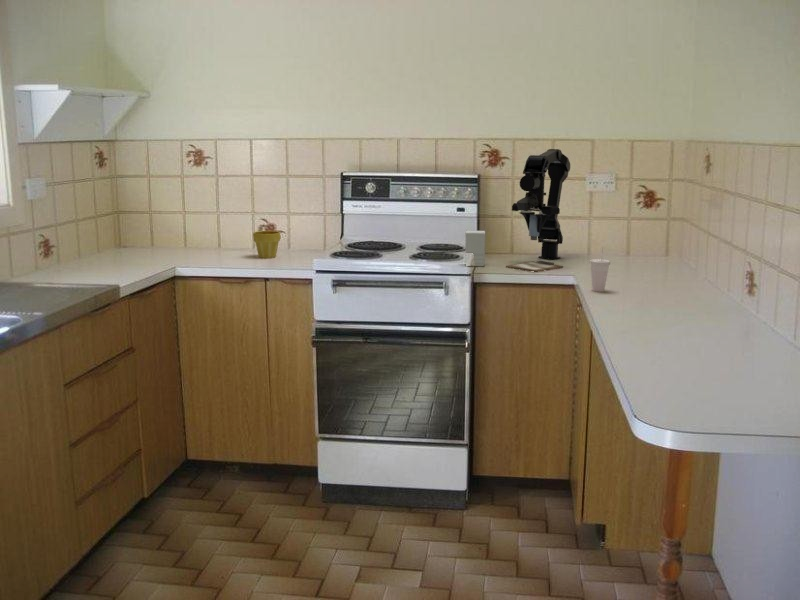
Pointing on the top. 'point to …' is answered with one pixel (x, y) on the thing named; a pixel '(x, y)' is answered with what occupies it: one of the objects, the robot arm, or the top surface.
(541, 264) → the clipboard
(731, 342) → the top surface
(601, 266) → the smoothie
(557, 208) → the robot arm
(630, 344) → the top surface
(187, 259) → the top surface
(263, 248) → the plant pot
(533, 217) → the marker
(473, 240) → the supplement box
